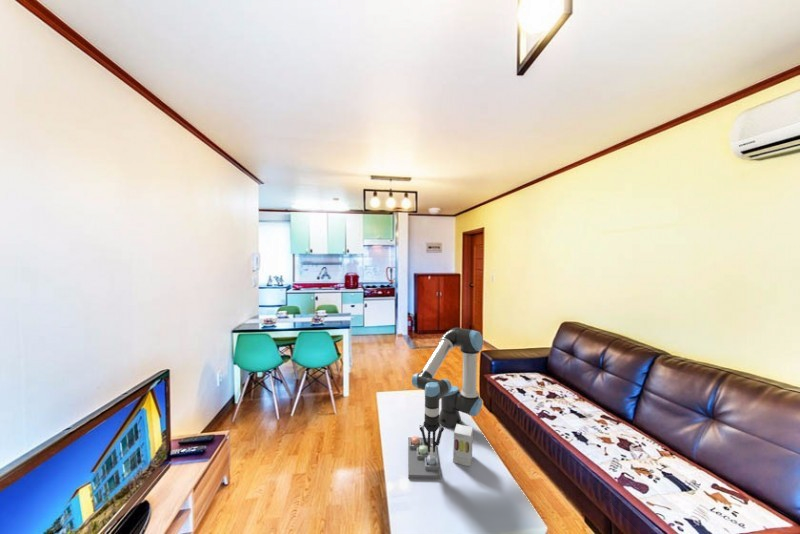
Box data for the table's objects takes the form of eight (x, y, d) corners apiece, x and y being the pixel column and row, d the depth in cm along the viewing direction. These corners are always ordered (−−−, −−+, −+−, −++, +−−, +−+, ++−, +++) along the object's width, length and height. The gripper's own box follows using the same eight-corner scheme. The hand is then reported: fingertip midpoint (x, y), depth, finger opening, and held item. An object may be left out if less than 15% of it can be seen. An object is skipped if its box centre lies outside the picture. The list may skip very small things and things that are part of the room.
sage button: (426, 451, 165) (426, 445, 165) (427, 456, 160) (427, 450, 160) (418, 451, 165) (418, 445, 165) (419, 456, 160) (419, 450, 160)
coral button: (418, 442, 173) (418, 436, 173) (419, 447, 168) (419, 441, 168) (411, 442, 173) (411, 436, 173) (411, 446, 169) (411, 440, 168)
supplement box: (452, 462, 160) (453, 432, 159) (455, 451, 168) (455, 423, 167) (470, 467, 156) (471, 436, 155) (472, 455, 165) (473, 426, 164)
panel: (434, 441, 178) (434, 435, 177) (440, 479, 148) (440, 472, 147) (408, 440, 178) (408, 434, 178) (408, 478, 148) (408, 471, 148)
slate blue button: (435, 461, 157) (435, 455, 157) (435, 467, 152) (435, 460, 152) (426, 461, 157) (426, 454, 157) (427, 467, 152) (427, 460, 152)
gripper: (443, 410, 157) (442, 453, 158) (419, 409, 157) (418, 452, 158) (445, 417, 149) (444, 463, 150) (419, 417, 150) (419, 462, 151)
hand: (431, 457), depth 154 cm, fingers closed
